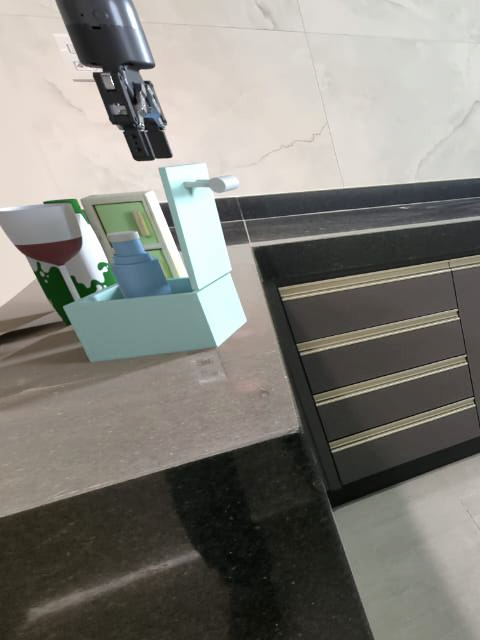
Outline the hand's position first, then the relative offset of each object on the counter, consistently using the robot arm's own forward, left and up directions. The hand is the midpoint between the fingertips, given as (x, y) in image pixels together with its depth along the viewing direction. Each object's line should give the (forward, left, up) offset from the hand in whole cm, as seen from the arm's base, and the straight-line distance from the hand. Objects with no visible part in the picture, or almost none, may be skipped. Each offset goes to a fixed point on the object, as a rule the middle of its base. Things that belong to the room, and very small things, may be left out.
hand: (155, 159), depth 75 cm
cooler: (-4, -5, -26) cm, 27 cm away
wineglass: (-21, +8, -26) cm, 34 cm away
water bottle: (-5, -5, -25) cm, 26 cm away
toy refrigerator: (-11, +10, -26) cm, 30 cm away
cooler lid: (+4, -5, -9) cm, 11 cm away
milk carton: (-25, +17, -26) cm, 40 cm away
